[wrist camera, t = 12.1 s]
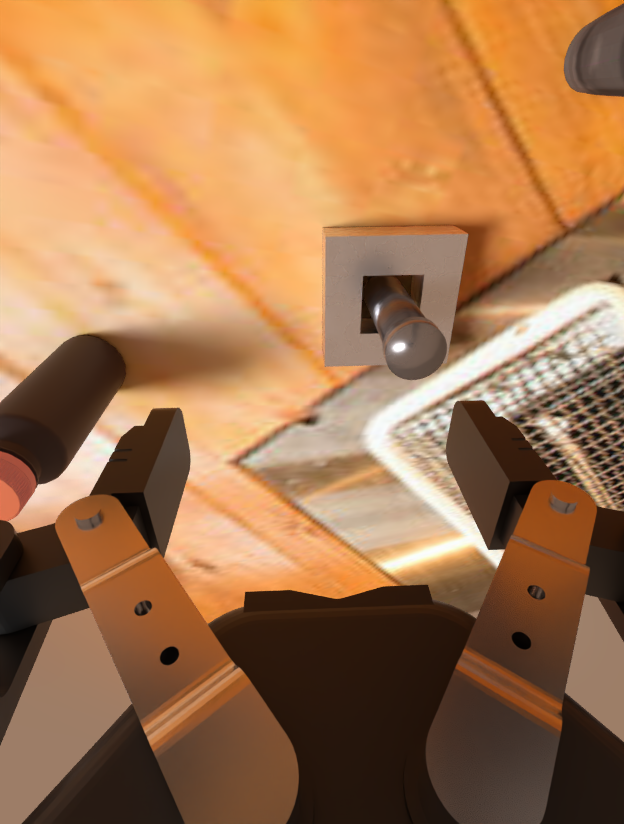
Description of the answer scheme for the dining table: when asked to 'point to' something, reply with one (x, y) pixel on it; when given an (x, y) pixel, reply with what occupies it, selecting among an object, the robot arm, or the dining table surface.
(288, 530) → the dining table surface
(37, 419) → the bottle
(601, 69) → the beverage cup
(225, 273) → the dining table surface
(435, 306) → the block
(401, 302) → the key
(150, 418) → the robot arm
